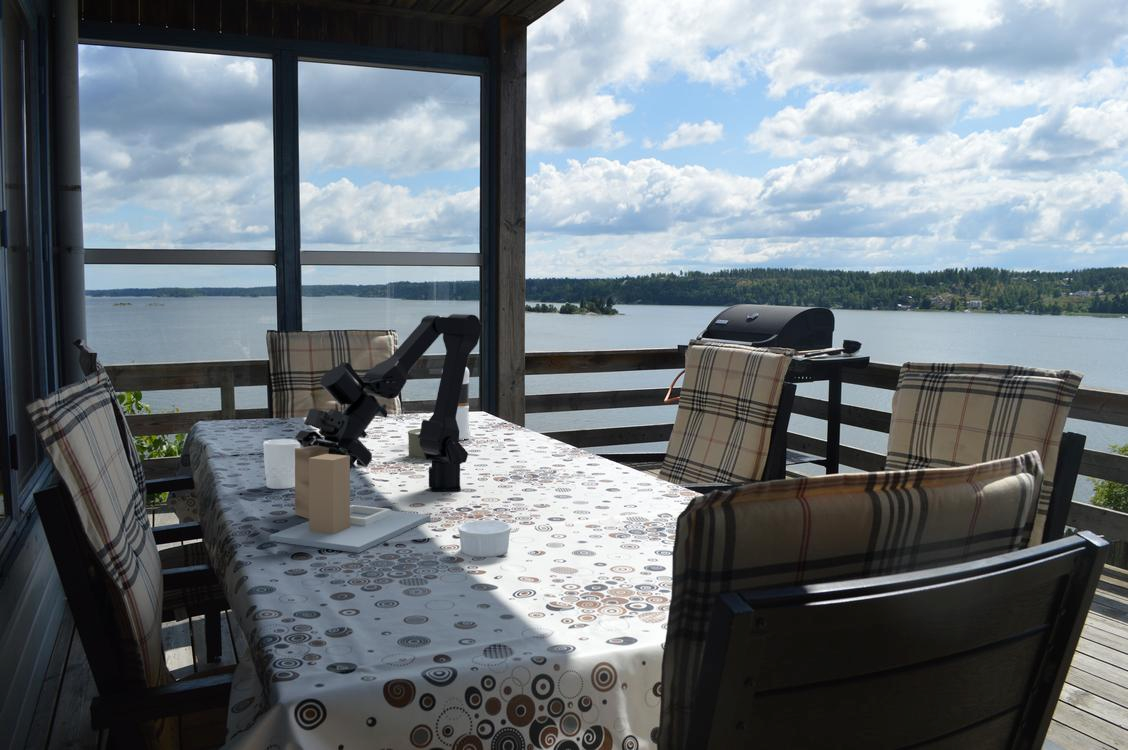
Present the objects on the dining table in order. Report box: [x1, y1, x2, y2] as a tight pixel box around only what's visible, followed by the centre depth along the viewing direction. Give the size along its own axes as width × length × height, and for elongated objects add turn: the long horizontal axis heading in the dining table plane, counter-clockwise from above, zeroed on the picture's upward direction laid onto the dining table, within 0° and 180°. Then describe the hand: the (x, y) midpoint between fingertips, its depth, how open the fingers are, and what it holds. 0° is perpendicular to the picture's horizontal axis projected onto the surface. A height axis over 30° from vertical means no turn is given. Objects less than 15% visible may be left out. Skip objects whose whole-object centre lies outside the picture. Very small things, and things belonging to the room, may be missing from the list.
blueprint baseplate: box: [269, 454, 431, 554], centre depth 159 cm, size 24×18×14 cm
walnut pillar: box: [294, 445, 329, 520], centre depth 170 cm, size 5×5×13 cm
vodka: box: [441, 366, 471, 441], centre depth 266 cm, size 9×9×30 cm
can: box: [407, 428, 427, 461], centre depth 237 cm, size 12×12×7 cm
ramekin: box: [457, 519, 512, 558], centre depth 148 cm, size 9×9×4 cm
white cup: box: [262, 438, 301, 490], centre depth 196 cm, size 8×8×10 cm
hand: (306, 482), depth 169 cm, fingers closed on walnut pillar, 5 cm apart
